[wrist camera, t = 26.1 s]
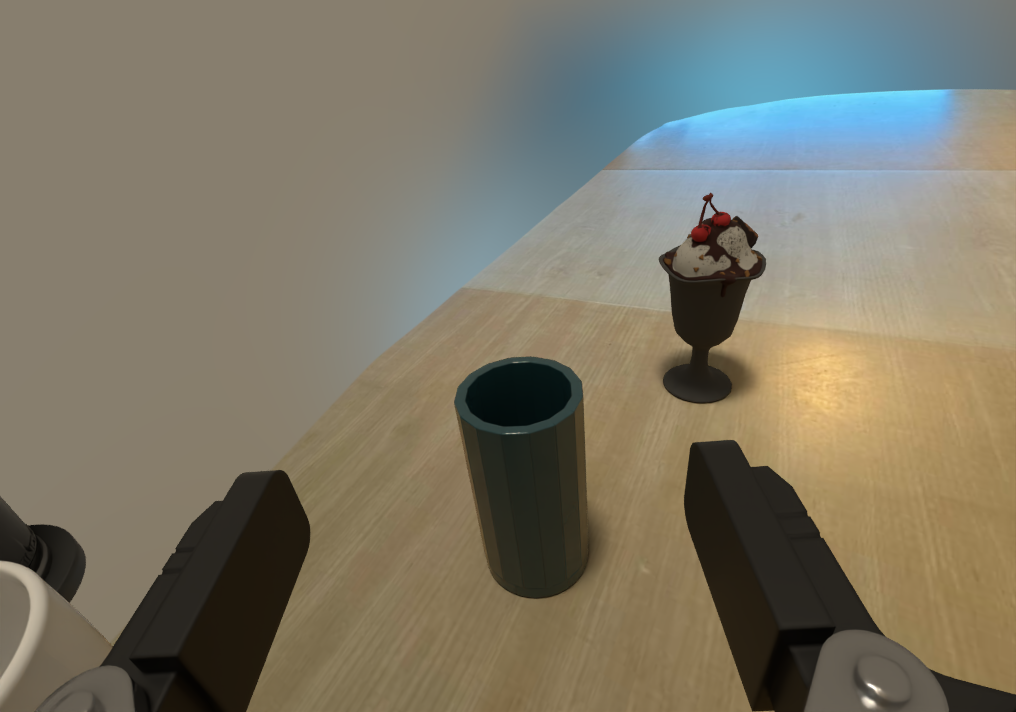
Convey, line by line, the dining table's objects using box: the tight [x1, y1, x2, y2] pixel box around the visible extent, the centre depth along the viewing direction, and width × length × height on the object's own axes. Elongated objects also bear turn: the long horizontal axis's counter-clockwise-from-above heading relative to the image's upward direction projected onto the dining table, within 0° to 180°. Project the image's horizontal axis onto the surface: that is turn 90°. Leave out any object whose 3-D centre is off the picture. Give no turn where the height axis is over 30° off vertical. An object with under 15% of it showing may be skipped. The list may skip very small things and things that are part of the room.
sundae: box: [659, 193, 766, 403], centre depth 36 cm, size 7×7×15 cm
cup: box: [454, 356, 589, 598], centre depth 26 cm, size 6×6×11 cm
